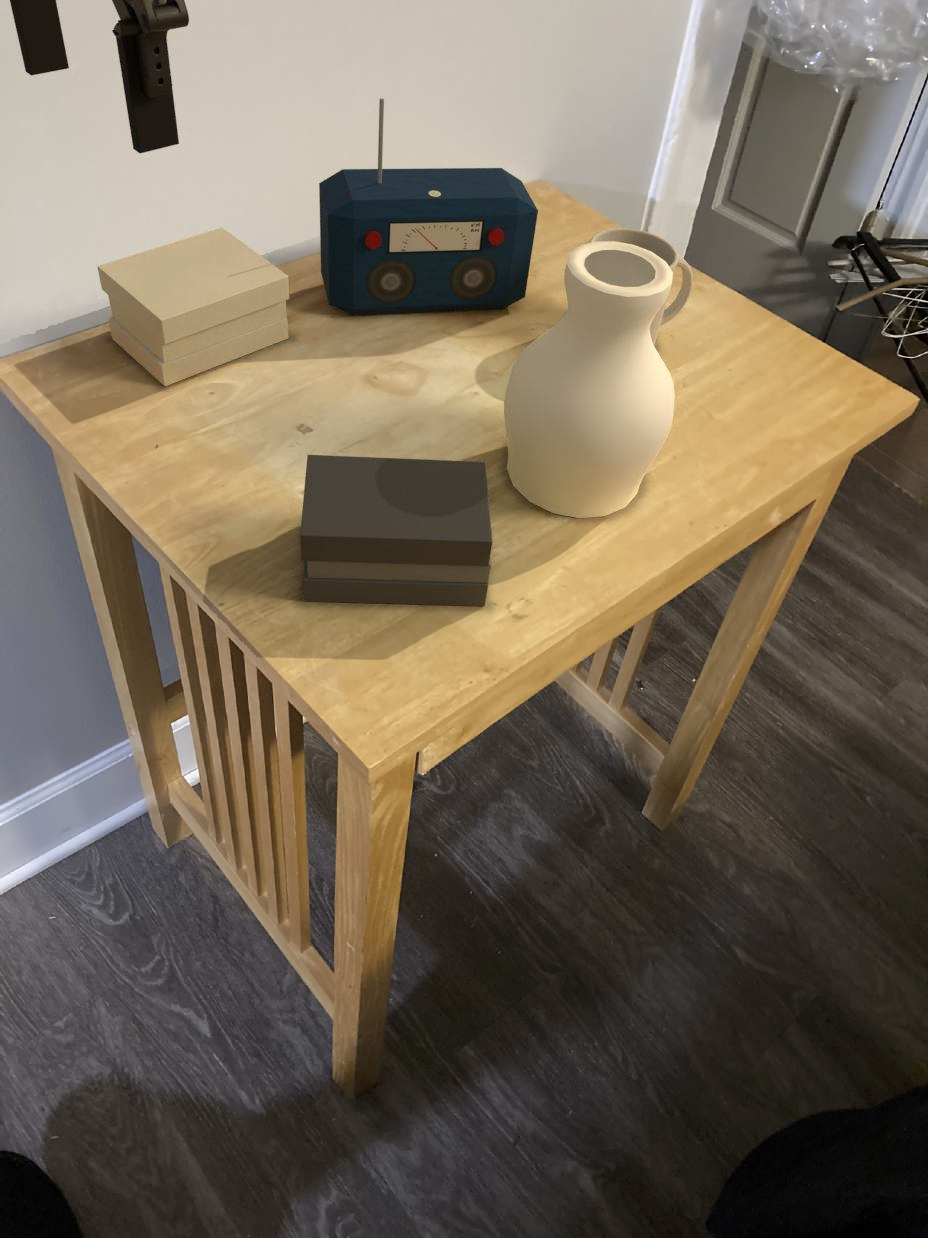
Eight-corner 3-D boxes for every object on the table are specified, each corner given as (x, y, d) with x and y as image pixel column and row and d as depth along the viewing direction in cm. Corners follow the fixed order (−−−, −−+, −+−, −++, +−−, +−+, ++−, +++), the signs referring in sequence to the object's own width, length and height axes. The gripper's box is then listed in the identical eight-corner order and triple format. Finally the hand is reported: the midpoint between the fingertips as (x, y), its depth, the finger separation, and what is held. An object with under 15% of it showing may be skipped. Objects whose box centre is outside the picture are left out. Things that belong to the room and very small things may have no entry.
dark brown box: (303, 601, 74) (300, 535, 69) (309, 520, 80) (307, 454, 75) (485, 606, 76) (495, 541, 70) (478, 526, 81) (487, 461, 76)
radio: (331, 324, 99) (328, 120, 84) (320, 279, 105) (316, 80, 90) (526, 315, 104) (557, 120, 89) (506, 273, 109) (531, 82, 94)
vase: (461, 465, 86) (485, 254, 72) (563, 404, 94) (605, 202, 79) (583, 551, 81) (638, 341, 66) (682, 479, 88) (752, 276, 73)
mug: (562, 349, 100) (580, 259, 93) (582, 305, 106) (601, 216, 99) (665, 376, 99) (691, 286, 91) (679, 329, 105) (705, 241, 97)
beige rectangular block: (164, 386, 90) (157, 341, 86) (111, 338, 94) (102, 293, 91) (288, 338, 97) (286, 294, 93) (234, 295, 101) (230, 252, 98)
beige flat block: (165, 344, 86) (161, 320, 84) (101, 289, 91) (96, 265, 89) (289, 298, 93) (288, 275, 91) (224, 249, 98) (222, 227, 96)
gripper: (232, -314, 43) (261, 167, 59) (-25, -391, 54) (58, 33, 70) (75, -318, 39) (151, 198, 55) (-168, -400, 50) (-46, 50, 66)
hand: (99, 106), depth 62 cm, fingers open, 13 cm apart
